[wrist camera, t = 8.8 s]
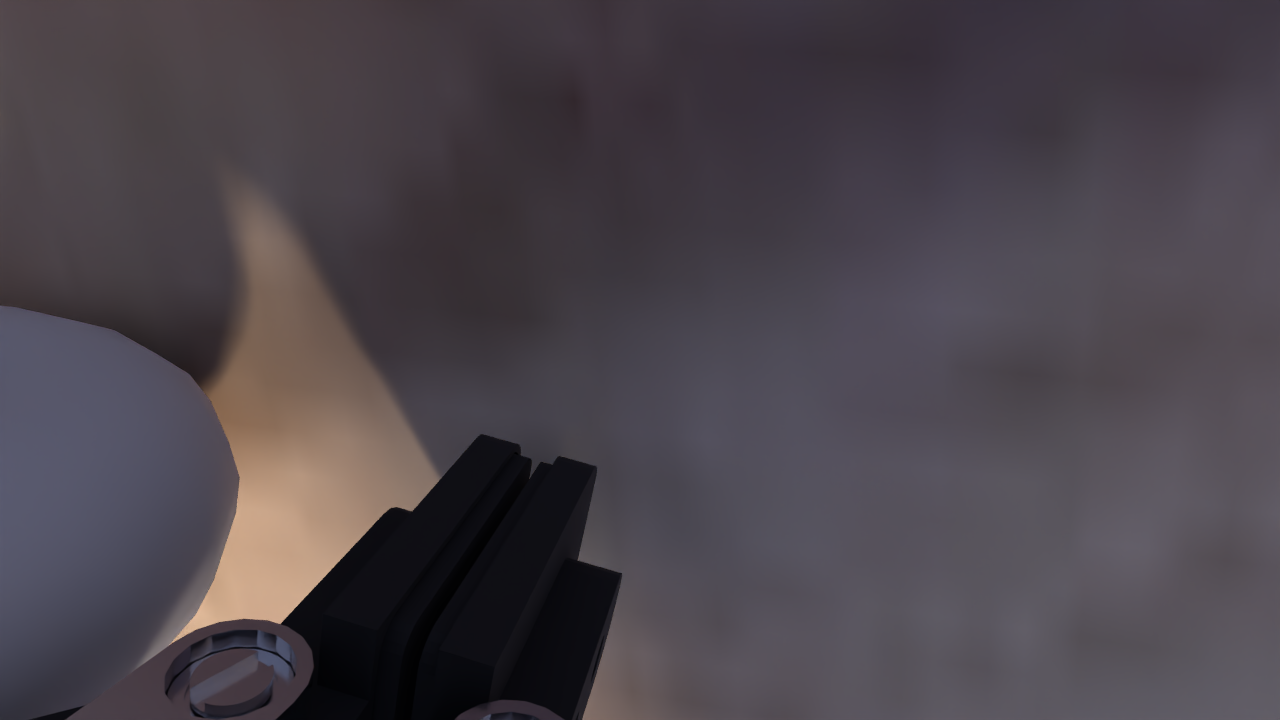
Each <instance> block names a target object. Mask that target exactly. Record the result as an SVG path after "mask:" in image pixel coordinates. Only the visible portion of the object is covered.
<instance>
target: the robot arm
mask: <svg viewBox="0 0 1280 720" xmlns="http://www.w3.org/2000/svg"><path fill="white" fill-rule="evenodd" d="M520 454H521V447H520V445H519V444H515V443H512V442H508V441H504V440H501V439H497V438H494V437H490V436H487V435H483V434H481V435H480V436H478V437H477V438H476V440H475V441H474V442H473V443H472V444H471V445H470V446H469V448H468V449H467V450H466V451H465V452H464V453H463V454H462V456H461V457H460V458H459V459H458V460H457V461H456V462H455V464H454V465H453V466H452V467H451V468H450V469H449V470H448V471H447V473H446V474H445V475H444V476H443V477H442V478H441V479H440V481H439V482H438V483H437V484H436V485H435V486H434V487H433V489H432V490H431V491H430V492H429V493H428V494H427V495H426V497H425V498H424V499H423V500H422V501H421V502H420V503H419V505H418V506H417V507H416V508H415V509H414V510H413V511H412V512H411V511H408V510H405V509H401V508H398V507H395V508H391V509H389V510H388V511H387V512H386V513H384V514H383V515H382V516H381V518H380V519H379V520H378V521H377V522H376V523H375V524H374V525H373V526H372V527H371V528H370V529H369V530H368V531H367V532H366V534H365V535H364V536H363V537H362V538H361V539H360V540H359V541H358V542H357V543H356V544H355V545H354V546H353V547H352V548H351V549H350V551H349V552H348V553H347V554H346V555H345V556H344V557H343V558H342V559H341V560H340V561H339V562H338V563H337V564H336V565H335V566H334V568H333V569H332V570H331V571H330V572H329V573H328V574H327V575H326V576H325V577H324V578H323V579H322V580H321V581H320V582H319V584H318V585H317V586H316V587H315V588H314V589H313V590H312V591H311V592H310V593H309V594H308V595H307V596H306V597H305V598H304V599H303V601H302V602H301V603H300V604H299V605H298V606H297V607H296V608H295V609H294V610H293V611H292V612H291V613H290V614H289V615H288V617H287V618H286V619H285V620H284V621H283V622H282V623H281V624H278V623H274V622H271V621H268V620H254V619H239V620H232V621H224V622H218V623H215V624H212V625H209V626H206V627H203V628H200V629H197V630H195V631H193V632H191V633H189V634H187V635H186V636H184V637H182V638H180V639H179V640H177V641H175V642H173V643H172V644H171V645H169V646H168V647H166V648H165V649H164V650H162V651H161V652H159V653H158V654H157V655H155V656H154V657H152V658H151V659H150V660H148V661H147V662H145V663H144V664H143V665H141V666H140V667H138V668H137V669H136V670H134V671H133V672H131V673H130V674H129V675H127V676H126V677H124V678H123V679H122V680H120V681H119V682H117V683H116V684H115V685H113V686H112V687H110V688H109V689H108V690H106V691H105V692H103V693H102V694H101V695H99V696H98V697H96V698H95V699H94V700H92V701H91V702H89V703H88V704H87V705H84V706H80V707H76V708H73V709H69V710H65V711H61V712H57V713H53V714H49V715H45V716H41V717H37V718H33V719H29V720H582V717H583V714H584V711H585V708H586V705H587V702H588V699H589V696H590V693H591V689H592V686H593V683H594V680H595V677H596V673H597V670H598V667H599V663H600V660H601V656H602V653H603V649H604V646H605V642H606V639H607V635H608V631H609V627H610V624H611V620H612V616H613V612H614V608H615V604H616V600H617V596H618V592H619V588H620V583H621V578H622V573H618V572H615V571H611V570H608V569H605V568H601V567H598V566H595V565H591V564H588V563H584V562H581V561H578V556H579V551H580V547H581V542H582V538H583V533H584V529H585V524H586V520H587V515H588V511H589V506H590V502H591V497H592V493H593V488H594V484H595V479H596V473H597V467H596V466H593V465H589V464H586V463H582V462H579V461H575V460H572V459H568V458H565V457H561V456H558V457H557V459H556V460H555V462H554V463H553V465H551V464H548V463H544V462H541V463H540V464H539V465H538V467H537V468H536V470H535V471H534V473H533V474H532V476H531V477H530V471H531V459H530V458H527V457H523V456H520ZM529 477H530V479H529Z"/></svg>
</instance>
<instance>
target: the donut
mask: <svg viewBox="0 0 1280 720" xmlns="http://www.w3.org/2000/svg"><path fill="white" fill-rule="evenodd" d="M239 478H240V477H239V474H238V471H237V467H236V464H235V461H234V457H233V454H232V451H231V448H230V444H229V442H228V439H227V437H226V435H225V433H224V430H223V428H222V426H221V423H220V421H219V419H218V417H217V414H216V412H215V410H214V407H213V405H212V403H211V401H210V399H209V398H208V397H207V396H206V394H205V393H204V392H203V391H202V389H201V388H200V387H199V386H198V384H197V383H196V382H195V381H194V379H193V378H192V377H191V376H190V374H188V373H187V372H185V371H184V370H182V369H180V368H179V367H177V366H175V365H174V364H172V363H171V362H169V361H167V360H166V359H164V358H162V357H161V356H159V355H157V354H156V353H154V352H152V351H151V350H149V349H147V348H145V347H143V346H142V345H140V344H138V343H136V342H135V341H133V340H131V339H129V338H127V337H126V336H124V335H122V334H120V333H119V332H117V331H115V330H113V329H108V328H104V327H100V326H96V325H92V324H87V323H83V322H79V321H74V320H70V319H66V318H61V317H57V316H53V315H48V314H44V313H39V312H35V311H31V310H26V309H22V308H17V307H10V306H0V720H29V719H33V718H37V717H41V716H45V715H49V714H53V713H57V712H61V711H65V710H69V709H73V708H76V707H80V706H84V705H87V704H88V703H89V702H91V701H92V700H94V699H95V698H96V697H98V696H99V695H101V694H102V693H103V692H105V691H106V690H108V689H109V688H110V687H112V686H113V685H115V684H116V683H117V682H119V681H120V680H122V679H123V678H124V677H126V676H127V675H129V674H130V673H131V672H133V671H134V670H136V669H137V668H138V667H140V666H141V665H143V664H144V663H145V662H147V661H148V660H150V659H151V658H152V657H154V656H155V655H157V654H158V653H159V652H161V651H162V650H164V649H165V648H166V647H168V646H169V644H170V643H171V642H172V641H173V640H174V639H175V637H176V636H177V635H178V634H179V633H180V632H181V631H182V629H183V628H184V627H185V626H186V625H187V624H188V622H189V621H190V620H191V619H192V618H193V617H194V616H195V614H196V613H197V611H198V609H199V607H200V605H201V603H202V601H203V600H204V598H205V596H206V594H207V592H208V590H209V588H210V586H211V584H212V582H213V581H214V578H215V575H216V572H217V569H218V566H219V563H220V559H221V556H222V553H223V550H224V547H225V544H226V541H227V538H228V535H229V532H230V529H231V526H232V523H233V520H234V517H235V514H236V508H237V498H238V488H239Z"/></svg>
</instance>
